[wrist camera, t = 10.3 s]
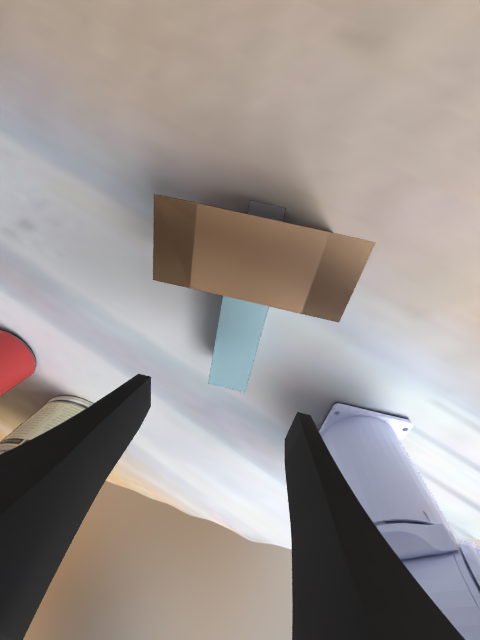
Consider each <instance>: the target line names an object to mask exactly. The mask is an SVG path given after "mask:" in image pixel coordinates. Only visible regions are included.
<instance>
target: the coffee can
mask: <svg viewBox="0 0 480 640" xmlns="http://www.w3.org/2000/svg"><path fill="white" fill-rule="evenodd" d="M91 405H93V403H91V402H88V401H86V400H84V399H81V398H77V397H72V396H59V397H54V398H52V399H50V400H49V401H48V402H47V403H46V404H45V405H44V406H43V407H41V408H40V409H39V410H38V411H37V412H35V413H34V414H33V415H32V416H31V417H29V418H28V419H27V420H26V421H25V422H24V423H22V424H21V425H20V426H19V427H17V428H16V429H15V430H14V431H13V432H12V433H10V434H9V435H8V436H7V437H5V438H4V439H3V440H2V441H1V442H0V454H2V453H5V452H7V451H9V450H11V449H13V448H15V447H17V446H19V445H21V444H23V443H25V442H27V441H29V440H31V439H33V438H35V437H37V436H39V435H41V434H43V433H45V432H46V431H48V430H50V429H52V428H54V427H56V426H57V425H59V424H61V423H63V422H64V421H66V420H68V419H69V418H71V417H73V416H74V415H76V414H78V413H79V412H81V411H83V410H84V409H86V408H88V407H89V406H91Z"/></svg>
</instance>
